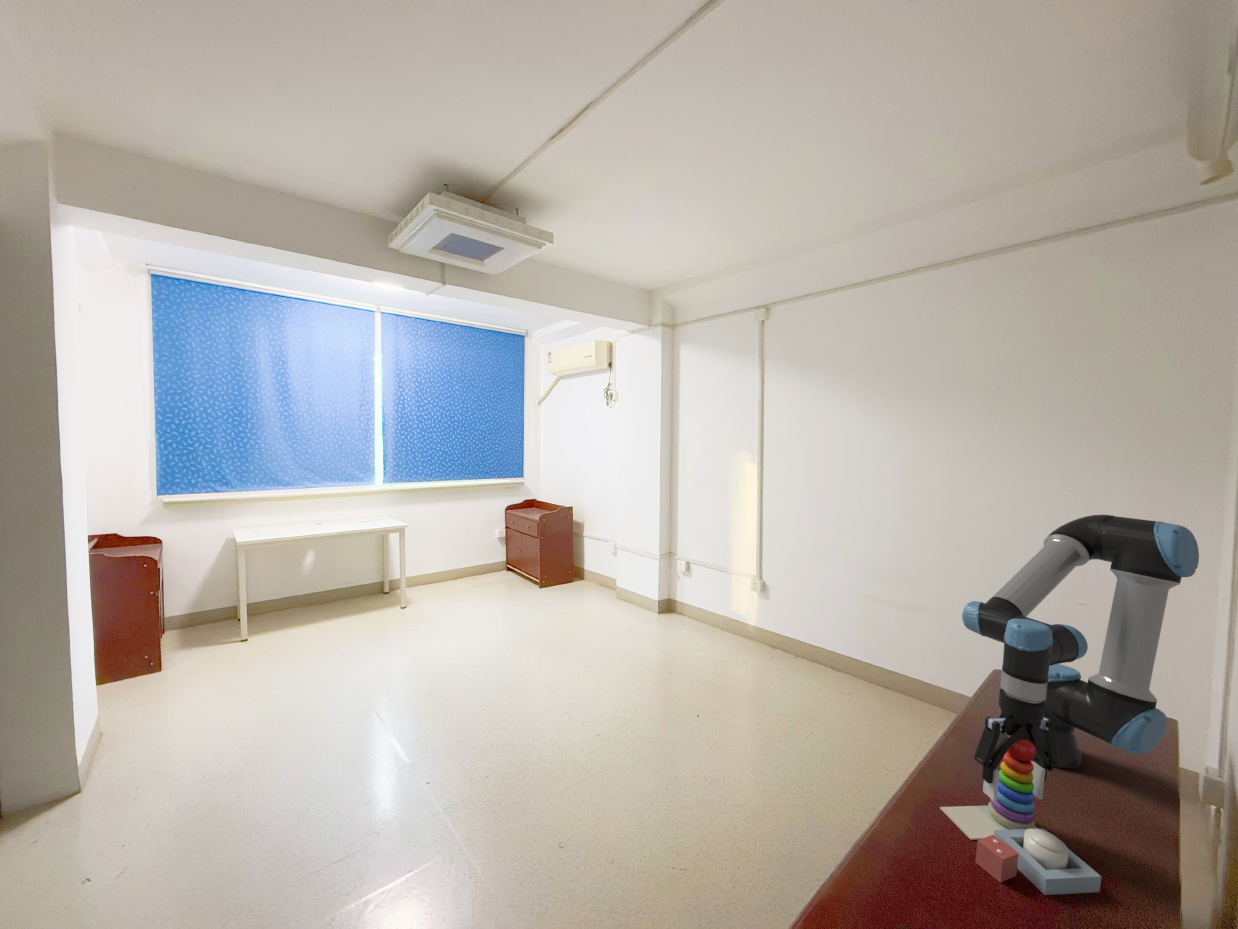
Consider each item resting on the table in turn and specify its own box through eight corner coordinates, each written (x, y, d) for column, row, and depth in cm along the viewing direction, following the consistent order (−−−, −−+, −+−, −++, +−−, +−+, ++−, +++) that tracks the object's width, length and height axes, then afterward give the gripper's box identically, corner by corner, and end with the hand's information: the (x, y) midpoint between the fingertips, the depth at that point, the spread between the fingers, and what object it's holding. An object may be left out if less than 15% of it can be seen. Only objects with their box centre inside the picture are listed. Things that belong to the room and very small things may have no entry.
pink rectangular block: (991, 856, 97) (993, 834, 97) (1016, 876, 93) (1018, 852, 92) (975, 862, 95) (977, 839, 95) (1000, 882, 91) (1002, 859, 91)
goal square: (1010, 806, 111) (1010, 804, 111) (1046, 837, 102) (1046, 835, 102) (975, 807, 110) (975, 805, 110) (1009, 838, 102) (1009, 837, 102)
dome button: (1043, 847, 98) (1045, 825, 98) (1075, 875, 92) (1078, 852, 92) (1013, 848, 98) (1016, 826, 98) (1044, 877, 91) (1047, 853, 91)
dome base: (1042, 842, 101) (1043, 828, 101) (1099, 892, 90) (1101, 876, 90) (992, 844, 100) (994, 830, 100) (1044, 895, 89) (1046, 879, 89)
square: (975, 807, 110) (975, 805, 110) (1009, 838, 102) (1009, 837, 102) (939, 808, 109) (940, 807, 109) (970, 840, 101) (970, 838, 101)
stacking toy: (1020, 839, 101) (1029, 751, 100) (979, 811, 108) (987, 729, 107) (1043, 829, 104) (1052, 743, 103) (1001, 802, 111) (1009, 722, 110)
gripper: (1053, 685, 109) (1043, 781, 111) (959, 685, 107) (950, 784, 109) (1088, 703, 102) (1077, 807, 103) (988, 704, 100) (978, 810, 101)
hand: (1012, 795), depth 106 cm, fingers open, 10 cm apart
